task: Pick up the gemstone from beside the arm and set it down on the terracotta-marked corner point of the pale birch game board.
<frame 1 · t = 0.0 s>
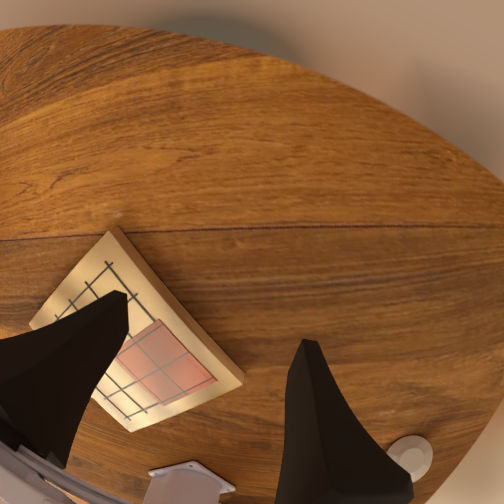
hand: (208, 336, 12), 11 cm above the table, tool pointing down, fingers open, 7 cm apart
board: (123, 346, 25), on the table
gemstone: (403, 445, 27), on the table
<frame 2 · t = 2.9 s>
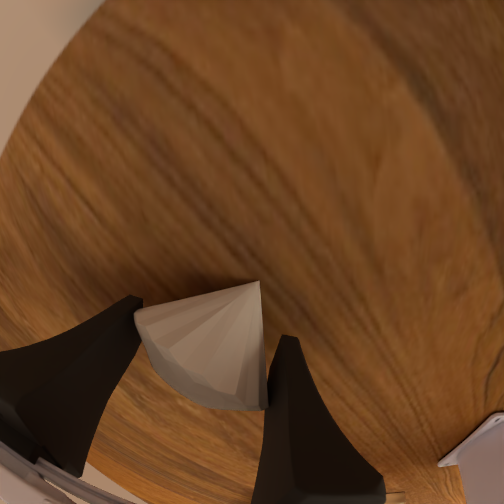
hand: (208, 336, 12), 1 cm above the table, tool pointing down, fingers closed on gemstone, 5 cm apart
gemstone: (219, 313, 13), on the table, touching gripper
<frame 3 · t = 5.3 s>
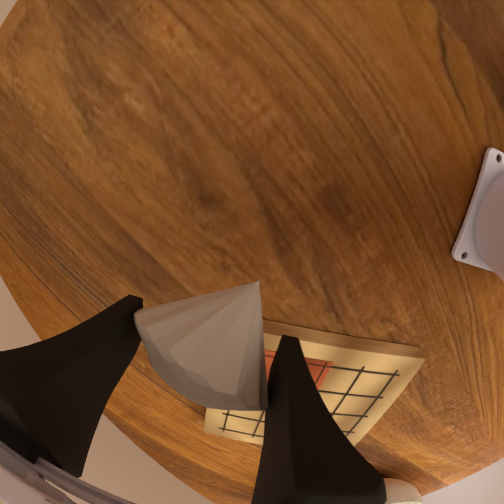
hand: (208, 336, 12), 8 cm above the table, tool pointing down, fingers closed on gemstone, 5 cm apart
board: (301, 396, 25), on the table
serving bowl: (355, 486, 35), on the table
gemstone: (219, 313, 13), point 7 cm above the table, touching gripper
when the fingers open (3 cm above the table, at t = 8.0 s): gemstone stays where it is, resting on board.
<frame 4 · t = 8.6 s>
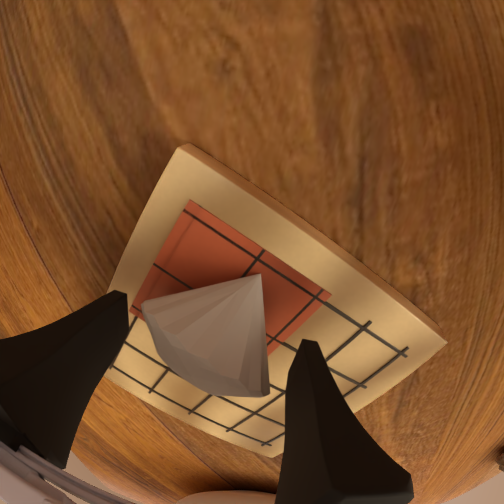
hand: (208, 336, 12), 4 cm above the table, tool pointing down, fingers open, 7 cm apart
board: (244, 349, 17), on the table
serving bowl: (254, 498, 30), on the table
gemstone: (222, 305, 14), point 1 cm above the table, touching board
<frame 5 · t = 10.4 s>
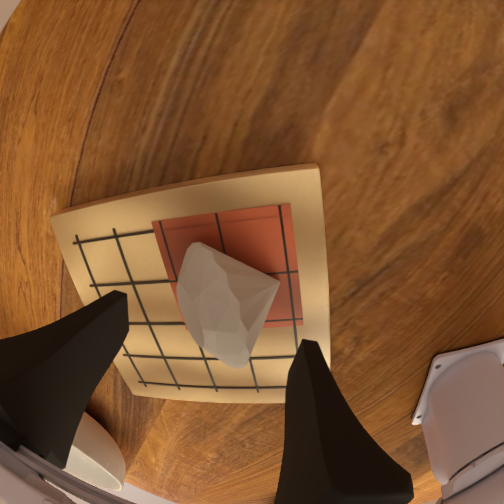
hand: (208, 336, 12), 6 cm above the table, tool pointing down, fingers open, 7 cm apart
board: (198, 308, 19), on the table
serving bowl: (69, 410, 31), on the table
gemstone: (230, 277, 16), point 1 cm above the table, touching board
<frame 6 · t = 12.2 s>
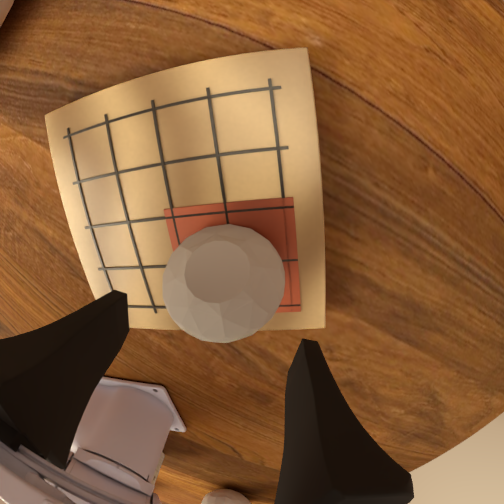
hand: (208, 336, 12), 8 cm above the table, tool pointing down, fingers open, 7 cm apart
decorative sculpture: (232, 490, 38), on the table
board: (182, 208, 18), on the table
gemstone: (233, 261, 17), point 1 cm above the table, touching board
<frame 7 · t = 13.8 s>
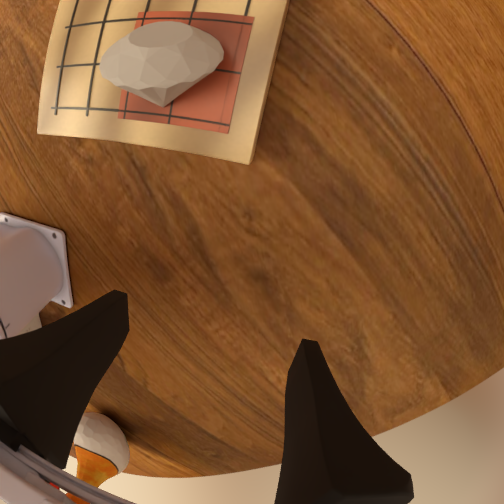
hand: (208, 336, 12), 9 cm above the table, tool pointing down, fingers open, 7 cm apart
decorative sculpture: (110, 421, 35), on the table
board: (154, 24, 14), on the table
gemstone: (178, 65, 14), point 1 cm above the table, touching board
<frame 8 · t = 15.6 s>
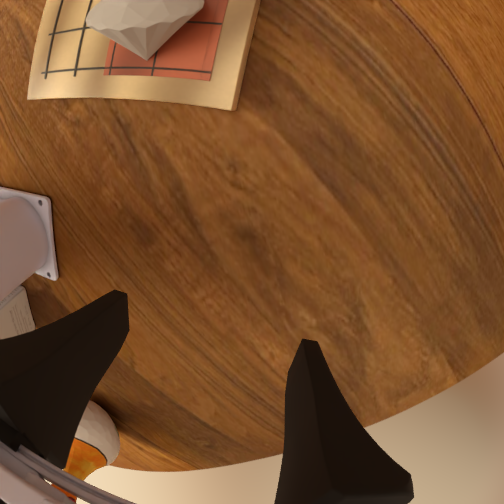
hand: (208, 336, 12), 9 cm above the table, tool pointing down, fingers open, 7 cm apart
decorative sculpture: (100, 409, 34), on the table
product box: (16, 299, 27), on the table
gemstone: (163, 22, 13), point 1 cm above the table, touching board
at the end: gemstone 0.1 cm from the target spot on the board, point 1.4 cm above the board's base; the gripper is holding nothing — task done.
